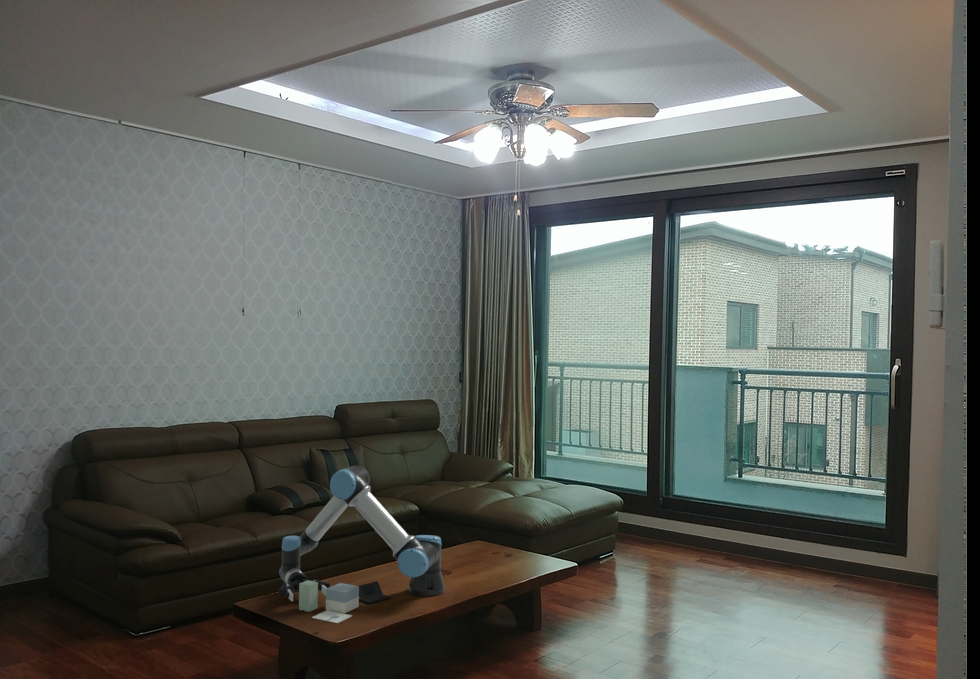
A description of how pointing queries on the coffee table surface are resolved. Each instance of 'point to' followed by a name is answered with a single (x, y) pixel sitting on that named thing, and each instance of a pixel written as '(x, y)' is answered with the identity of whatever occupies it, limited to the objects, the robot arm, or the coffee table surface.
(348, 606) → the tower base
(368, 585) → the handheld gaming console
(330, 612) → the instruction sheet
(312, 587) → the top brick
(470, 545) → the coffee table surface
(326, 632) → the coffee table surface
